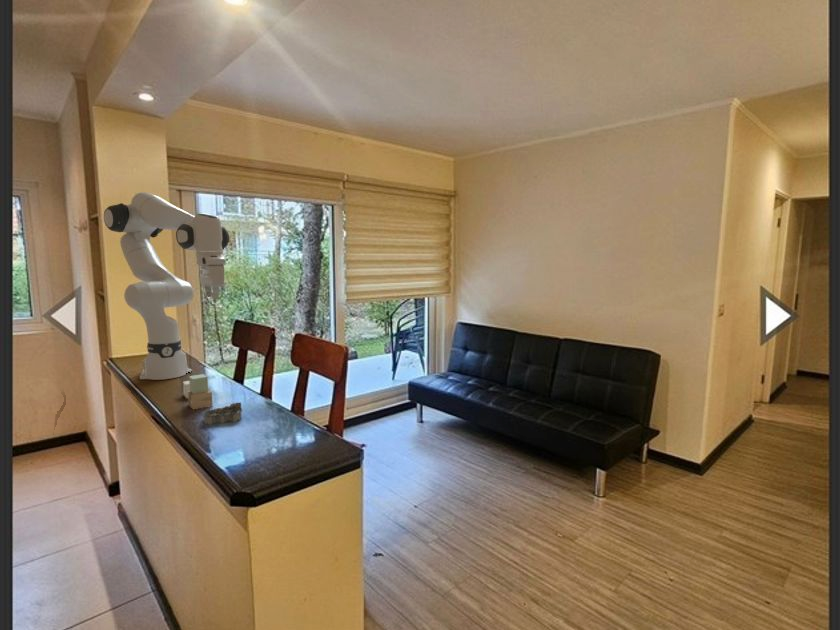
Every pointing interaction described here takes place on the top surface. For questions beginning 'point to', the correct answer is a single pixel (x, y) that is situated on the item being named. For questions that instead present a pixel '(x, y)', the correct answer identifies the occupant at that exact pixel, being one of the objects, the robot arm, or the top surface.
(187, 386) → the cream cube
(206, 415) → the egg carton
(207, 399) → the oak block
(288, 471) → the top surface
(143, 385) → the top surface
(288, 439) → the top surface
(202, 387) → the green cube
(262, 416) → the top surface
